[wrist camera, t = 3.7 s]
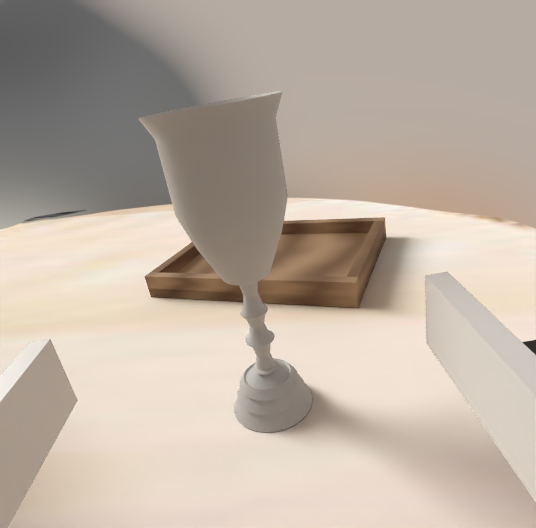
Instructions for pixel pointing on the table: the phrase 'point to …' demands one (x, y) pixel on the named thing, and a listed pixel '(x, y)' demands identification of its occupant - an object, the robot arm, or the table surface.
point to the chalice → (236, 227)
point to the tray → (288, 266)
